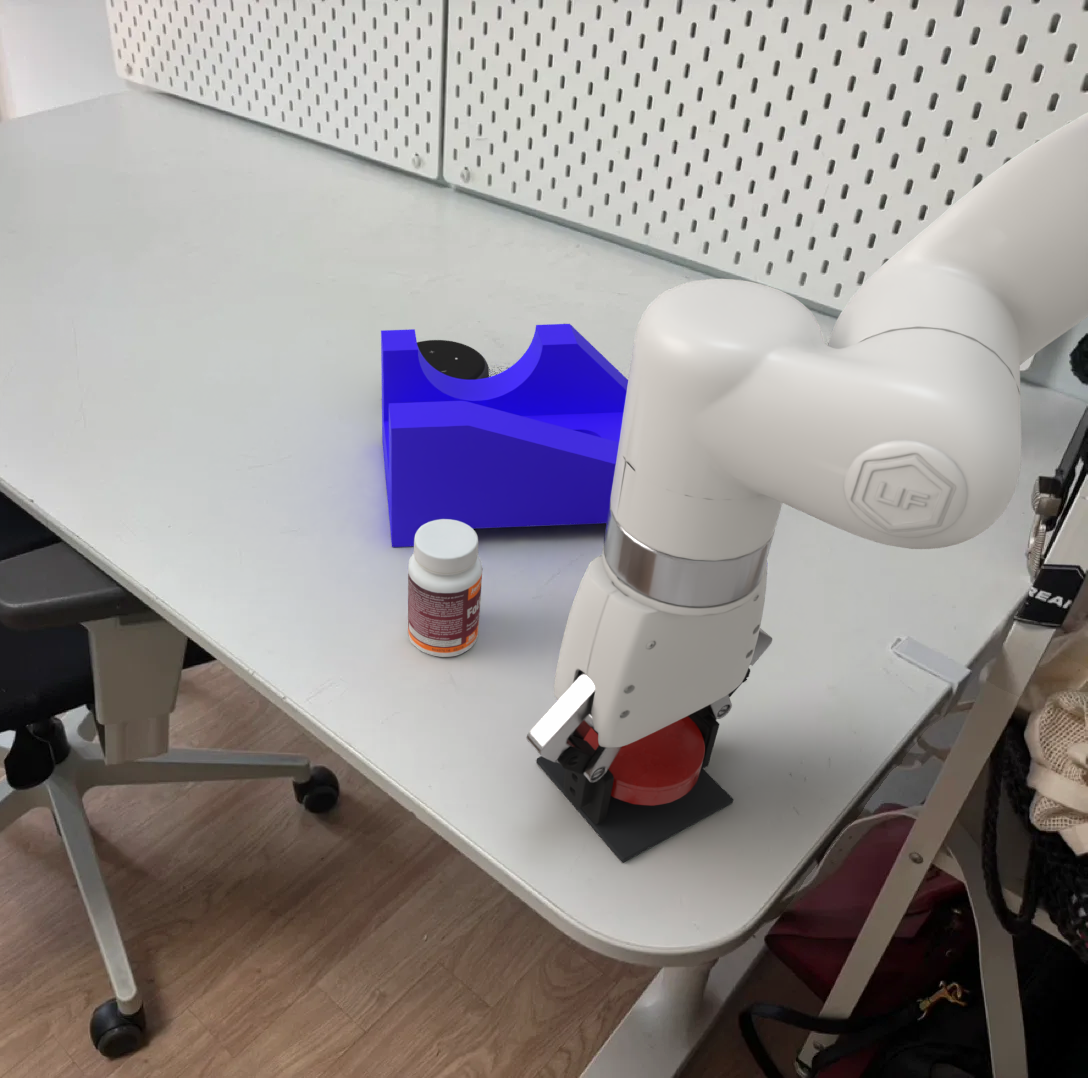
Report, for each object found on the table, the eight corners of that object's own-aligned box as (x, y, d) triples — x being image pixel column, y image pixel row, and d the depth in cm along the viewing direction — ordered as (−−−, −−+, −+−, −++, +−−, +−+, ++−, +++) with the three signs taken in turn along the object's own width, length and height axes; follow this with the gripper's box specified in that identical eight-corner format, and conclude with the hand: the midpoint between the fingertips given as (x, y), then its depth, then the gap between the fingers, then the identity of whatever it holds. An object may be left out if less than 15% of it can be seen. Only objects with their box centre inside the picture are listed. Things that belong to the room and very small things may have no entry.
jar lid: (553, 739, 63) (555, 721, 62) (645, 695, 66) (648, 677, 65) (630, 825, 58) (634, 806, 57) (726, 774, 61) (731, 755, 60)
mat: (732, 803, 62) (734, 799, 62) (622, 863, 59) (623, 859, 59) (641, 711, 68) (641, 707, 67) (535, 762, 65) (536, 758, 64)
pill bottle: (480, 659, 71) (487, 562, 66) (407, 659, 71) (408, 562, 66) (476, 609, 75) (482, 514, 70) (407, 609, 75) (407, 514, 70)
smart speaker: (501, 419, 93) (504, 379, 91) (402, 436, 91) (402, 395, 89) (468, 368, 100) (469, 329, 97) (374, 383, 98) (374, 344, 96)
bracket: (391, 547, 80) (391, 428, 74) (382, 442, 91) (381, 330, 84) (673, 535, 81) (698, 416, 74) (631, 433, 91) (650, 320, 85)
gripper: (762, 448, 57) (704, 681, 69) (489, 556, 51) (474, 793, 62) (877, 525, 52) (793, 762, 64) (588, 655, 46) (552, 893, 57)
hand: (635, 776), depth 63 cm, fingers closed on jar lid, 6 cm apart
